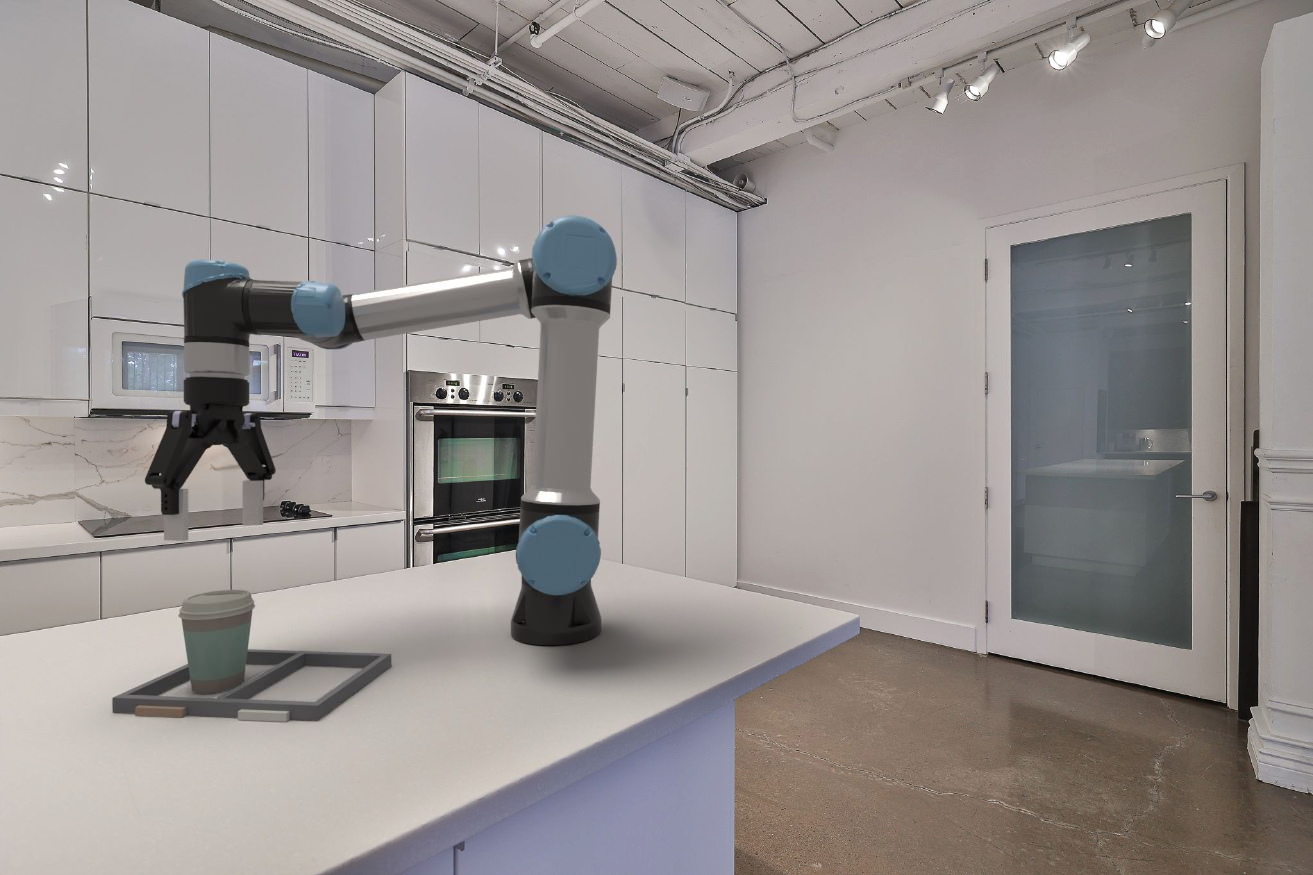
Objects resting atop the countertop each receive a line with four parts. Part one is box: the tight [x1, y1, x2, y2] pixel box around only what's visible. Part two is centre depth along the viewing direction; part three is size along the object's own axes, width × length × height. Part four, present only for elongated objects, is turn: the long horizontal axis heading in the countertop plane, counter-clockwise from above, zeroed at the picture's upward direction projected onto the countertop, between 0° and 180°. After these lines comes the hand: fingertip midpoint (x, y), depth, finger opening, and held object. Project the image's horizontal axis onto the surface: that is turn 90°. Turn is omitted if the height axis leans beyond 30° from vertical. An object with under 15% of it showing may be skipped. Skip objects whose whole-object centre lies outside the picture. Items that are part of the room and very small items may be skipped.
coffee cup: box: [178, 589, 256, 695], centre depth 88 cm, size 9×8×12 cm
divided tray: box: [111, 648, 392, 723], centre depth 88 cm, size 26×19×2 cm
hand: (217, 532), depth 91 cm, fingers open, 13 cm apart
